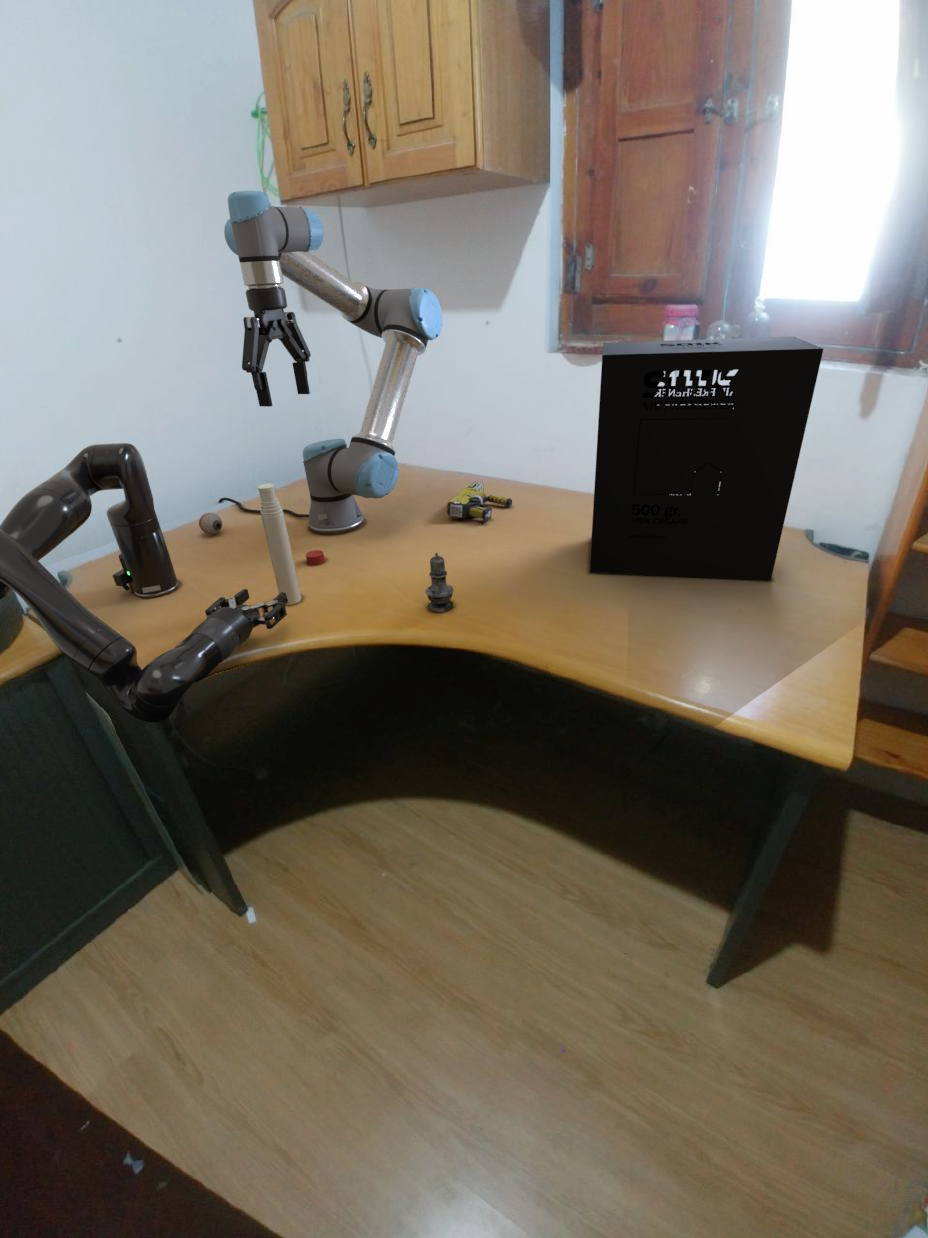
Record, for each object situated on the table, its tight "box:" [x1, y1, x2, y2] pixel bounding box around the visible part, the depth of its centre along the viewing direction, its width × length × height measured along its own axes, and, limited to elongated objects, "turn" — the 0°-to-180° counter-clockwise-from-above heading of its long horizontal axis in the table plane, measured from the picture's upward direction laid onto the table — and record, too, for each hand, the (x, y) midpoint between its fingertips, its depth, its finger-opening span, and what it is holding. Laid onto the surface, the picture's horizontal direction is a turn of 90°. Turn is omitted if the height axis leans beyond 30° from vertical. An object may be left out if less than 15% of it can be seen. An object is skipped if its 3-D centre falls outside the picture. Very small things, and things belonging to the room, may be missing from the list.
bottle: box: [257, 483, 302, 606], centre depth 125 cm, size 4×4×26 cm
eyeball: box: [198, 512, 223, 536], centre depth 167 cm, size 6×6×6 cm
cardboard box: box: [589, 336, 824, 581], centre depth 128 cm, size 38×20×45 cm, turn 78°
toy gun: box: [446, 480, 513, 523], centre depth 174 cm, size 5×24×15 cm
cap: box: [305, 549, 326, 566], centre depth 148 cm, size 4×4×2 cm
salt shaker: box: [424, 552, 455, 613], centre depth 122 cm, size 6×6×12 cm
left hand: (265, 594), depth 121 cm, fingers open, 8 cm apart
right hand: (285, 399), depth 129 cm, fingers open, 13 cm apart
